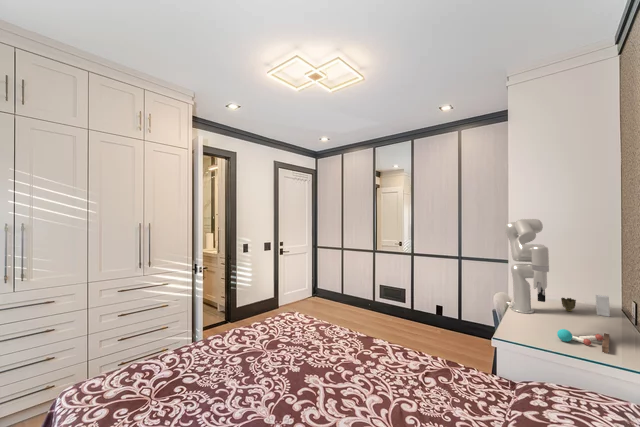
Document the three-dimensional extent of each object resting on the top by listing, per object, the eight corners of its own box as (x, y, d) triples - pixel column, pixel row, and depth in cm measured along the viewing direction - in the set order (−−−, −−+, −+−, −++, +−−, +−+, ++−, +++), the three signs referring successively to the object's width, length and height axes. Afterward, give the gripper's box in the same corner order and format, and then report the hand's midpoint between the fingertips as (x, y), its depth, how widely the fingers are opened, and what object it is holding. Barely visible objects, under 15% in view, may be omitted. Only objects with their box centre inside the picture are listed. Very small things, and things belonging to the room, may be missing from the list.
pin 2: (578, 336, 147) (601, 335, 141) (579, 334, 149) (601, 333, 143) (581, 342, 146) (604, 341, 140) (582, 340, 148) (604, 339, 142)
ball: (570, 345, 146) (562, 336, 151) (578, 337, 143) (569, 328, 149) (559, 342, 146) (551, 333, 151) (567, 333, 143) (559, 325, 149)
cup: (573, 309, 191) (573, 297, 191) (578, 313, 185) (577, 301, 185) (559, 308, 194) (559, 296, 195) (563, 312, 188) (563, 300, 188)
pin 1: (569, 340, 149) (589, 347, 140) (567, 335, 149) (588, 341, 140) (572, 338, 150) (593, 344, 141) (571, 333, 150) (591, 338, 141)
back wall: (602, 352, 135) (602, 346, 135) (604, 338, 148) (603, 333, 148) (608, 353, 133) (608, 347, 133) (609, 339, 147) (609, 334, 147)
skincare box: (609, 315, 180) (609, 295, 180) (610, 317, 177) (609, 297, 177) (596, 313, 184) (595, 294, 184) (596, 315, 181) (595, 295, 181)
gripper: (534, 265, 167) (536, 297, 167) (529, 269, 157) (530, 303, 157) (551, 267, 162) (552, 299, 161) (546, 271, 151) (547, 305, 151)
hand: (541, 301), depth 159 cm, fingers closed
